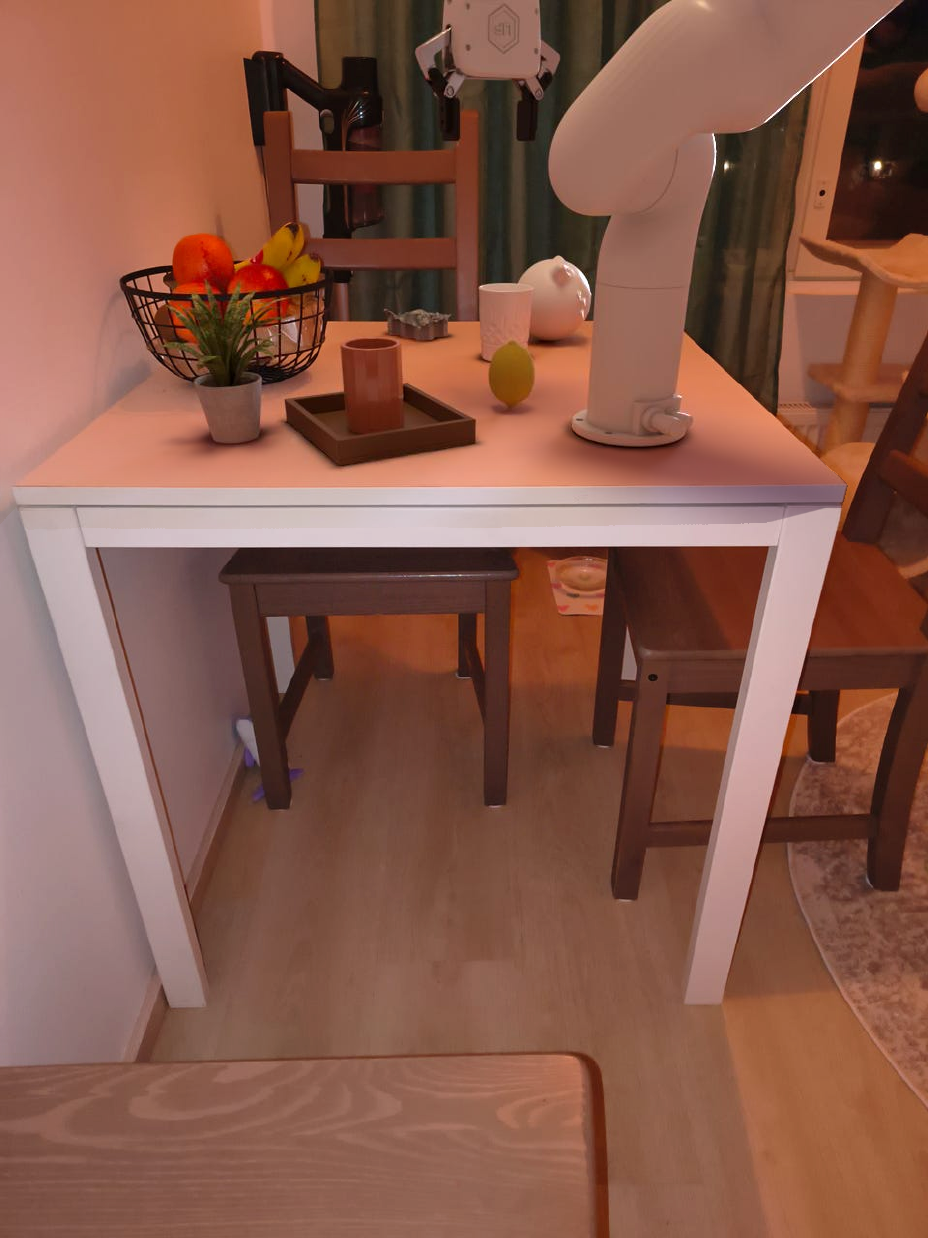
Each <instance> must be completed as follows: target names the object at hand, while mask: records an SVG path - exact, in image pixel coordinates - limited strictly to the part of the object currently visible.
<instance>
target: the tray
mask: <svg viewBox="0 0 928 1238" xmlns="http://www.w3.org/2000/svg"><path fill="white" fill-rule="evenodd" d="M403 404H404V427H403V428H401V429H395V430H388V431H382V432H376V433H369V434H358V433H354V432H351V431H350V430H348V428H347V423H346V411H345V398H344V390H342V391H336V392H328V393H320V394H312V395H311V394H310V395H304V396H297V397H290V398H285V399H284V408H285V416H286V417H285V419H286V422H287V423H288V424H290V425H291V426H292V427H293V428H294V429H295V430H297V431H298V432H299V433H300V434H301V435H303V436H304V437H305V438H306V439H307V440H308V441H310V443H312V444H313V445H314V446H315V447H317V448H318V449H319V450H320V451H321V452H322V453H323V454H325V455H326V456H327V457H328V458H329V459H330V460H331V461H333V462H334V463H335V464H337V465H338V466H340V467H342V466H346V465H352V464H359V463H364V462H365V463H366V462H371V461H377V460H381V459H388V458H394V457H400V456H407V455H411V454H419V453H424V452H429V451H435V450H436V451H437V450H442V449H448V448H454V447H459V446H466V445H471V444H476V440H477V439H476V437H477V435H476V434H477V433H476V432H477V431H476V427H477V421H476V420H477V419H476V418H474V417H471V416H470V415H468V414H466V413H464V412H463V411H462V410H461V411H460V410H458V409H457V408H455V407H453V406H451V405H449V404H448V403H445V402H443V401H442V400H440V399H438V398H436V397H435V396H433V395H431V394H429V393H427V392H426V391H424V390H421V389H420V388H418V387H417V386H415V385H412V384H410V383H408V382H405V383H403Z"/></svg>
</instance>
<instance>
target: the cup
mask: <svg viewBox="0 0 928 1238" xmlns="http://www.w3.org/2000/svg"><path fill="white" fill-rule="evenodd" d="M340 356H341V357H340V358H341V371H342V383H343V391H344V398H345V411H346V423H347V428H348V430H350V431H351V432H354V433H358V434H369V433H376V432H382V431H388V430H395V429H401V428H403V427H404V404H403V355H402V341H400V340H398V339H395V338H389V337H377V336H376V337H373V336H371V337H369V336H368V337H356V338H352V339H347V340H344V341H342V342H341V343H340Z"/></svg>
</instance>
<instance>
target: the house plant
mask: <svg viewBox="0 0 928 1238" xmlns="http://www.w3.org/2000/svg"><path fill="white" fill-rule="evenodd" d="M241 282H242V279H241V280H239V282H238V283H237V285H236V287H235V289H234V291H233V293H232V295H231V297H230V300H229V302H228V304H227V307H226V309H225V313H224V317H223V320H222V316H221V311H220V307H219V304H218V302H217V300H216V297H215V295H214V293H213V290H212V288H211V285H210V283H209V282H208V281H207V279H206V278H204V285H205V291H206V295H207V301H208V305H207V304H206V303H205V302H204V301H203V300H202V298H201V297H200V295H199V294H198V293H196V292H195V291H193V290H191V292H190V294H191V297H187V299H189V300H192V302H193V303H192V304H193V306H194V308H193V307H191V308H185V307H183V306H182V305H181V304H178V306H179V307H180V309H181V310H182V311H183V313H184V314H183V313H182V312H181V311H180V310H178V309H176V308H175V307H172V306H170V305H168V304H166V303H164V302H163V303H162V304H164V305H165V307H167V308H168V309H169V310H170V311H171V312H172V314H173V315H174V316H175V317H176V318H177V319H178V320H179V321H180V322H181V323H182V325H184V327H185V328H186V329H187V330H188V331H189V332H190V333H191V334H192V335H193V337H194V338H195V339H196V341H197V342H198V345H197V348H198V349H199V351H200V352H201V353H202V354H200V353H199V352H197V351H196V350H195V349H194V348H192V347H190V346H188V345H186V344H184V343H180V342H178V341H171V342H166V343H164V344H163V345H161V348H169V349H176V350H180V351H183V352H186V353H189V354H191V356H193V357H195V358H196V359H197V361H198V363H197V364H196V367H197V373H199V372H200V370H202V369H204V368H207V370H208V371H209V373H208V374H203V375H201V376H199V377H196V378H195V379H194V380H193V384H194V388H195V390H196V393H197V396H198V399H199V402H200V405H201V408H202V411H203V413H204V417H205V421H206V422H207V426H208V429H209V431H210V435H211V437H212V440H213V442H216V443H219V444H220V443H221V444H240V443H246V442H251V441H254V440H256V439H258V438H259V437H260V436H261V415H262V414H261V412H262V411H261V409H262V385H263V384H262V382H263V378H262V376H261V375H260V374H258V373H254V372H249V371H246V369H247V368H248V366H249V364H250V363H251V362H252V360H253V359H254V358H255V356H256V354H257V353H262V354H266V355H268V356H269V357H271V358H272V359H274V360H273V361H276V358H275V356H274V354H273V352H271V351H270V350H268V348H269V347H270V348H271V347H275V348H276V347H277V348H278V347H279V348H280V349H282V348H281V347H280V346H278V345H276V344H275V343H274V342H273V341H272V340H271V339H272V338H274V337H277V336H280V335H284V334H285V335H286V333H285V332H283V333H275V334H271V335H269V336H268V337H266V338H265V339H263V338H260V337H254V338H251V339H249V337H250V335H251V333H252V331H253V330H256V329H258V328H260V327H262V326H265V325H266V324H268V323H271V322H274V321H280V320H282V319H285V318H287V317H288V316H286V315H285V316H277V317H276V316H275V317H270V318H265V319H262V317H264V316H265V314H267V313H268V312H269V311H271V310H276V309H280V308H282V306H276V307H275V306H274V307H269V306H270V305H272V304H274V303H276V302H279V301H282V300H286V299H290V296H287V297H282V298H278V299H274V300H272V301H269V302H261V301H260V302H255V303H254V304H252V305H250V302H251V300H252V298H253V297H254V296H255V293H256V292H257V290H254V291H252V292H250V293H248V294H247V295H245V296H244V297H243V298H242V299H241V301H240V302H239V299H240V293H241V289H242V283H241ZM293 296H294V295H293ZM293 296H291V298H292V297H293ZM256 305H262V306H260V308H258V309H257V310H256V311H255V312H254V313H253V314H252V315H251V316H250V317H249V318H248V319H247V315H248V312H249V311H250V309H251V308H252V307H253V306H256ZM267 307H269V308H267ZM266 308H267V309H266ZM264 309H265V310H264ZM187 310H188V311H187ZM260 312H261V313H260ZM191 315H192V316H193V317H194V318H195V320H196V321H197V323H198V324H197V323H196V321H195V320H194V318H193V317H192V316H191ZM257 315H258V316H257ZM255 317H256V318H255ZM253 319H254V320H253ZM246 320H247V321H246ZM252 320H253V322H252ZM245 321H246V323H245V324H244V322H245ZM243 324H244V326H243ZM243 338H244V340H243V342H242V344H241V346H240V343H241V341H242V339H243ZM259 341H262V342H260V343H258V344H256V345H255V346H253V347H251V348H250V349H248V351H247V352H245V351H246V350H247V348H249V347H250V346H251V345H252V344H253V343H255V342H259ZM239 346H240V347H239ZM282 350H283V349H282ZM243 353H244V354H243Z"/></svg>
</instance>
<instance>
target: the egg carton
mask: <svg viewBox="0 0 928 1238" xmlns="http://www.w3.org/2000/svg"><path fill="white" fill-rule="evenodd" d="M382 313H385V315H388V317H387V324H386V326H387V334H388V335H389V336H401V338H405V339H411V338H413V339H414V340H415V341H418V342H421V341H432V340H434V339H435V338H442V337H447V336H449V322H448V321H449V318H450V317H451V316H452V313H450V314H446V313H444V314H443V313H439V311H436V313H434V312H427V311H425V310H424V309H415V310H412V311H408V312H407V311H405V313H404V314H402V313H401V312H399V313H398V314H397V315H396V314H395V313H394V312H393V311H391V310H388V309H387V308H383V310H382Z"/></svg>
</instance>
